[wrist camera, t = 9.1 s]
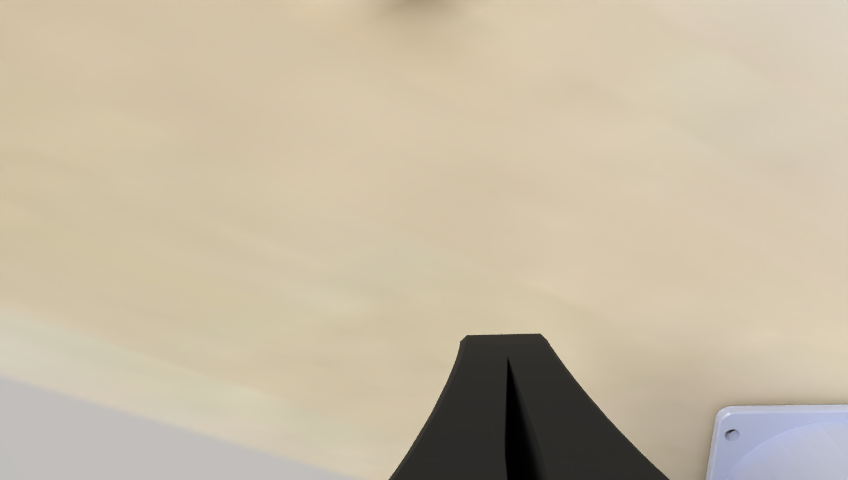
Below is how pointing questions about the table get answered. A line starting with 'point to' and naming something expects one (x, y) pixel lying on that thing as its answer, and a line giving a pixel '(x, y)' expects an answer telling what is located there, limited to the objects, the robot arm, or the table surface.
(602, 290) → the table surface
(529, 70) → the table surface
